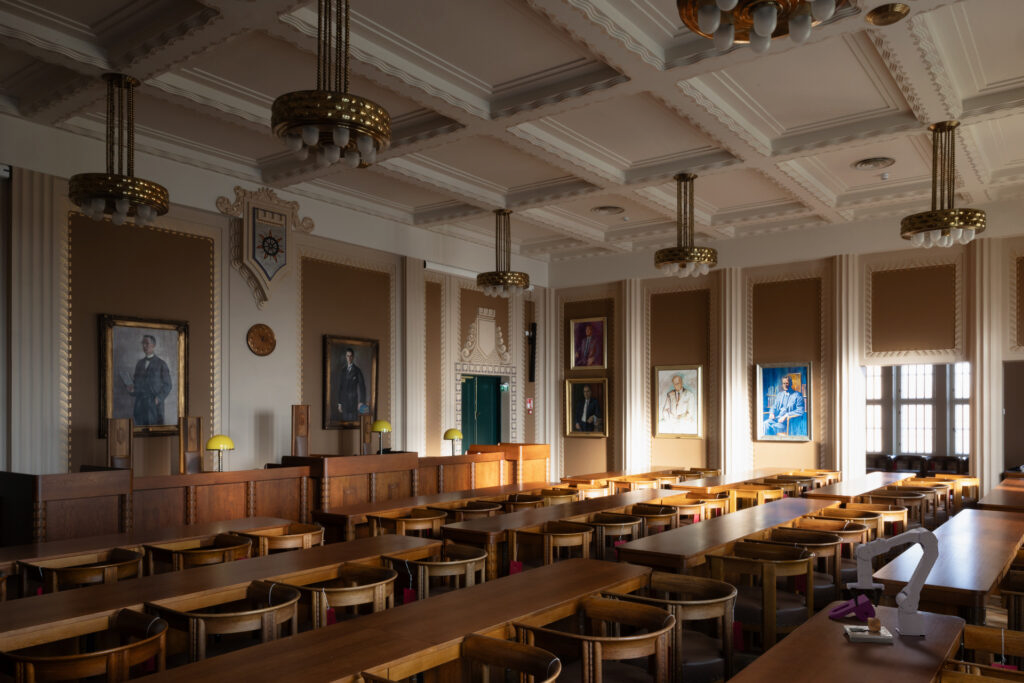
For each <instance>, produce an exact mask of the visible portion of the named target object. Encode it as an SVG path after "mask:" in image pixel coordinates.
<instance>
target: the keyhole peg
mask: <svg viewBox="0 0 1024 683" xmlns="http://www.w3.org/2000/svg"><path fill="white" fill-rule="evenodd" d="M867 626H868V628H869V629H870V630H871V631H872V632H877V631H881V627H882V624H881V620H880V618H879V617H875V618H868V622H867Z"/></svg>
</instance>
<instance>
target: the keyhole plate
mask: <svg viewBox="0 0 1024 683" xmlns="http://www.w3.org/2000/svg"><path fill="white" fill-rule="evenodd" d="M843 633H844V634H845V633H848V634H847V635H849V642H850V641H851V642H850V643H861V642H876V643H875V644H889V643H893V644H894V636H893V635H892V633H890V631H889V630H888V629H887V628H886V627H885V626H881V631H877V632H872V631H871V630H870V629H869V628H868V625H845V624H844V625H843ZM878 642H879V643H878Z"/></svg>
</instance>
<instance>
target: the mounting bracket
mask: <svg viewBox="0 0 1024 683" xmlns="http://www.w3.org/2000/svg"><path fill="white" fill-rule="evenodd" d="M852 613H854V615H856V617H857V618H858V619H859V620H860V621H861V622H863V621H868V618H876V614H877V613H876V610H875V608H874V606H873V605H872V603H871V601H870V599H869V598H868V597H867V596H866V595H865V594H864V593H863V594H861V595H858V607H856V606H855V601H854V598H852V599H849V600H847V601H845V602H843V603H841V604H838V605H836V606H834V607H832V608H831V609H830V610H829V611H828V616H829V617H830V619H832V618H833V619H832V620H837V619H841V618H843V617H846V616H849V615H850V614H852Z"/></svg>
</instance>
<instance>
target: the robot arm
mask: <svg viewBox="0 0 1024 683" xmlns="http://www.w3.org/2000/svg"><path fill="white" fill-rule="evenodd" d="M906 543H914V544H919V546H920V548H921V549H922V552H923V554H922V556H921V557H920V559H919V561H918V563H917V565H916V567H915V569H914V570H913V573H912V574H911V577H910V579H909V581H908V582H907V585H905V586H904V587H903V588H902V590H901V591H900V592H898V593H897V594H896V596H895V603H896V604H897V606H898V607H897V621H898V627H895V630H896V631H897V632H898V634H900V635H902V636H920V635H925V636H926V633H925V617H924V613H923V612H922V611H920V610H919V611H918V608H919V601H920V598H921V596H920V594H921V591H922V589H923V587H924V585H925V583H926V581H927V579H928V577H929V575H930V574H931V571H932V569H933V568H934V566H935V563H936V561H937V560H938V557H939V556H940V555H939V554H940V553H939V552H940V551H939V539H938V538H937V536H936V535H935V533H934V532H932V531H930V530H928V529H927V528H925V527H922V526H920V527H917V528H912V529H909V530H907V531H905V532H903V533H900V534H898V535H895V536H893V537H890V538H887V539H886V538H884V537H881V538H880V537H876V538H875V540H873V541H870V542H868V541H866V542H865V544H864V543H860V544H858V545H856V547H855V549H854V553H855V555H856V569H857V570H856V571H857V582H848V583H846V588H847V589H848V590H849V591H850V593H851V595H852V599H854V601H855V606H856V607H858V596H859V592H858V590H873V597H874V598H873V599H874V600H873V601H874V607H875V608H879V600H880V598H881V596H882V594H883V591H885V585H884V584H883V583H876V582H875V583H874V581H873V564H872V559H873V557H875V556H878V555H881V554H883V553H888V552H889V551H890V550H891V548H893V547H896V546H900V545H903V544H906Z"/></svg>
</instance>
